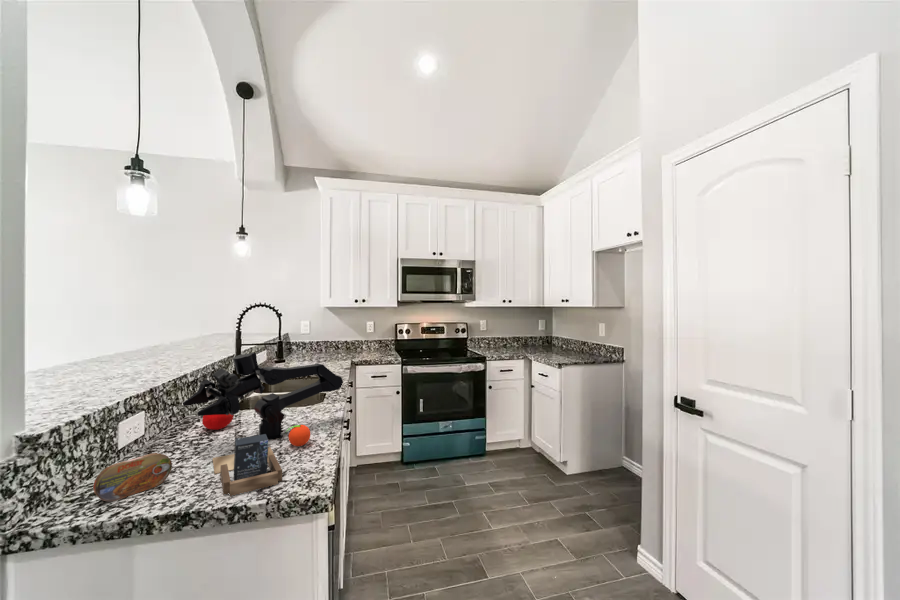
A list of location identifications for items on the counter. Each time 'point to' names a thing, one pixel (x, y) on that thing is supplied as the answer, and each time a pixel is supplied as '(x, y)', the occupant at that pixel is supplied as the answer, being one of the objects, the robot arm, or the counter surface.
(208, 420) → the tomato
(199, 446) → the counter surface
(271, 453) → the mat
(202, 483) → the counter surface
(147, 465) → the tin
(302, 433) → the clementine
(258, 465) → the box
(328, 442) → the counter surface
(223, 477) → the brown u-shaped bracket
